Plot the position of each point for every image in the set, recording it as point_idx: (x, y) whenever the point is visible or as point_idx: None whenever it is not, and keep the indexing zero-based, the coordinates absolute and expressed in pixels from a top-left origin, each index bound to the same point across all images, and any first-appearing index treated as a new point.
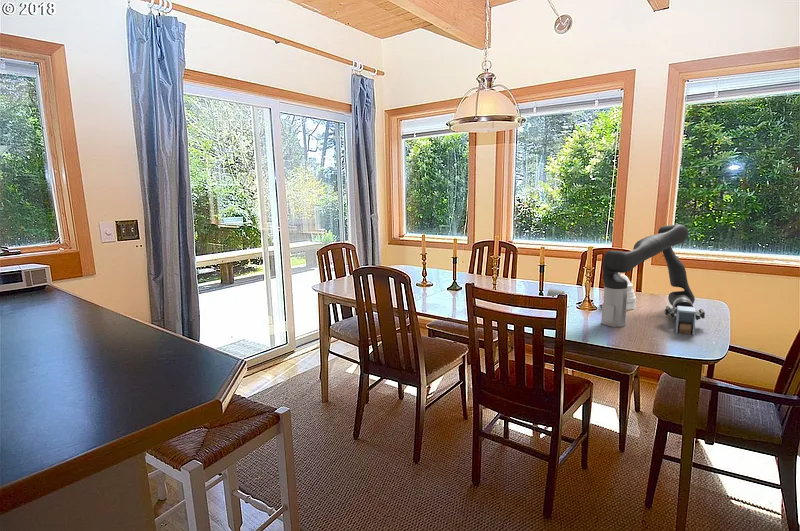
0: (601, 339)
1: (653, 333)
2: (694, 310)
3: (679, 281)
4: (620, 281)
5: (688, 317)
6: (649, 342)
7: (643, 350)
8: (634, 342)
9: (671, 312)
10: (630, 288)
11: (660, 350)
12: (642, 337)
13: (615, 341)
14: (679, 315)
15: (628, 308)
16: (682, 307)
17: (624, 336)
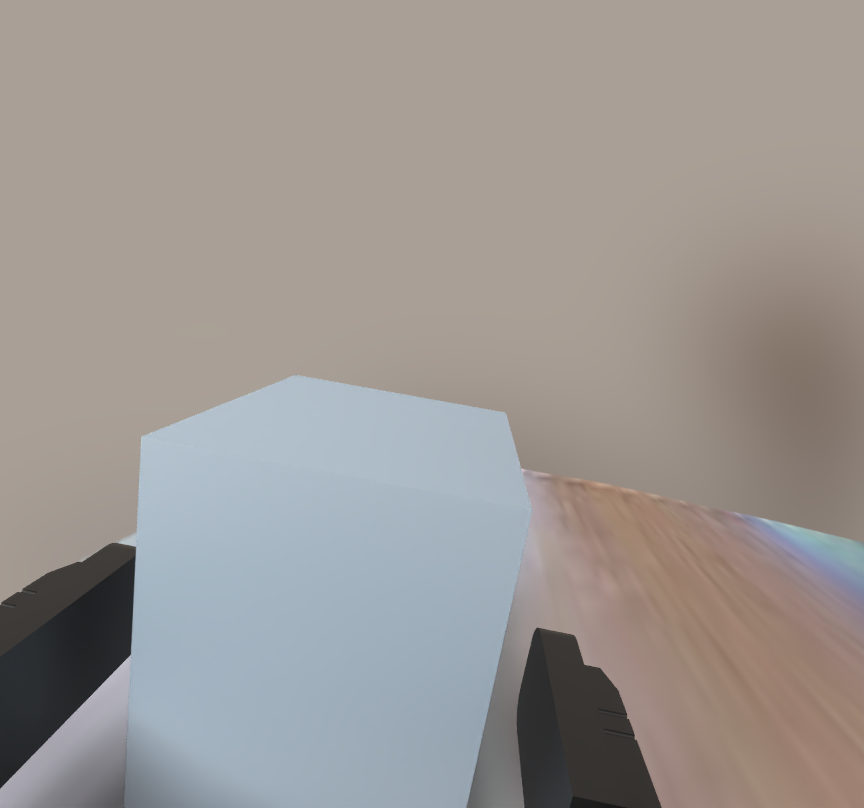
0: (846, 563)
1: (656, 676)
2: (287, 387)
3: None
4: None
5: (246, 686)
6: (610, 540)
7: (600, 488)
8: (678, 539)
9: (609, 737)
10: None
11: (537, 486)
12: (684, 595)
13: (766, 547)
14: (424, 696)
15: None
16: (427, 450)
17: (792, 603)
